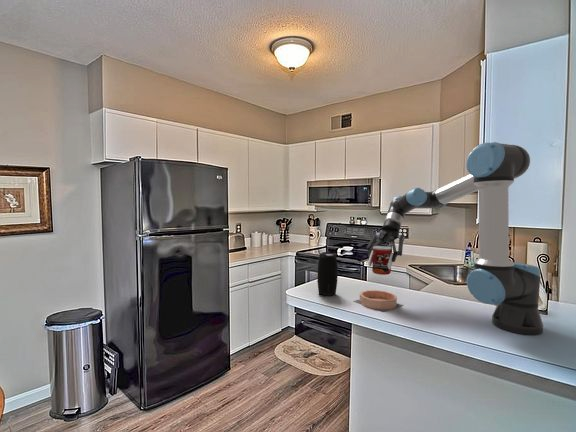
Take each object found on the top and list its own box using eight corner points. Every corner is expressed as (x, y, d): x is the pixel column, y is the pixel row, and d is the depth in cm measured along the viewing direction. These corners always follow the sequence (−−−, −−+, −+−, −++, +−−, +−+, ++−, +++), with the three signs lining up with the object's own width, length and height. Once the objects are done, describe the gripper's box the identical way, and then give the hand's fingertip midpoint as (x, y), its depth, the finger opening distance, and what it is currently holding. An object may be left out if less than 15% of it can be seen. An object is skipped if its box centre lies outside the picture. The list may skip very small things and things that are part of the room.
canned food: (370, 273, 138) (371, 247, 137) (374, 269, 145) (375, 245, 144) (388, 275, 135) (389, 249, 134) (392, 271, 142) (393, 246, 141)
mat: (404, 306, 138) (404, 305, 138) (383, 313, 129) (383, 312, 129) (373, 296, 150) (373, 295, 150) (352, 302, 142) (352, 301, 142)
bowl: (403, 304, 138) (404, 296, 138) (381, 311, 129) (381, 303, 129) (375, 295, 150) (375, 288, 150) (352, 301, 141) (353, 293, 141)
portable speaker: (320, 291, 158) (321, 251, 157) (339, 293, 154) (340, 252, 153) (314, 296, 150) (315, 253, 149) (334, 298, 146) (335, 255, 145)
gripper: (417, 231, 145) (405, 274, 133) (372, 228, 157) (358, 267, 145) (414, 220, 141) (402, 264, 129) (368, 217, 152) (353, 257, 140)
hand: (378, 265), depth 137 cm, fingers closed on canned food, 8 cm apart
